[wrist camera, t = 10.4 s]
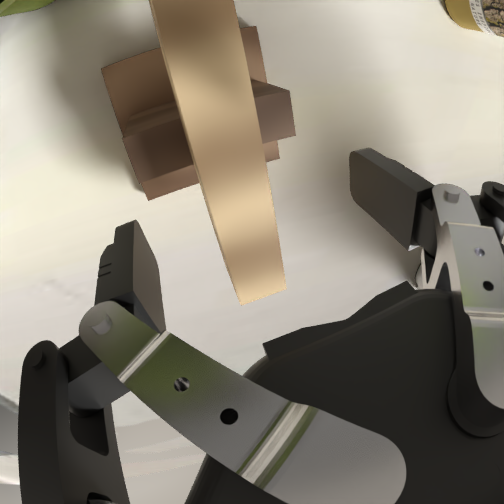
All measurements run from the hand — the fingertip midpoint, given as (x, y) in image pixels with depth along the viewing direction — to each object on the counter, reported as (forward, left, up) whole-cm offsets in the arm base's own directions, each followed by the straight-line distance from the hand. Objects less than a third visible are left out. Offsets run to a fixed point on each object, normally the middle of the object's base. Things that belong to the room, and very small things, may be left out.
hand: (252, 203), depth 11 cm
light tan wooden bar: (0, 0, -8) cm, 8 cm away
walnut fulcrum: (0, 0, -16) cm, 16 cm away
